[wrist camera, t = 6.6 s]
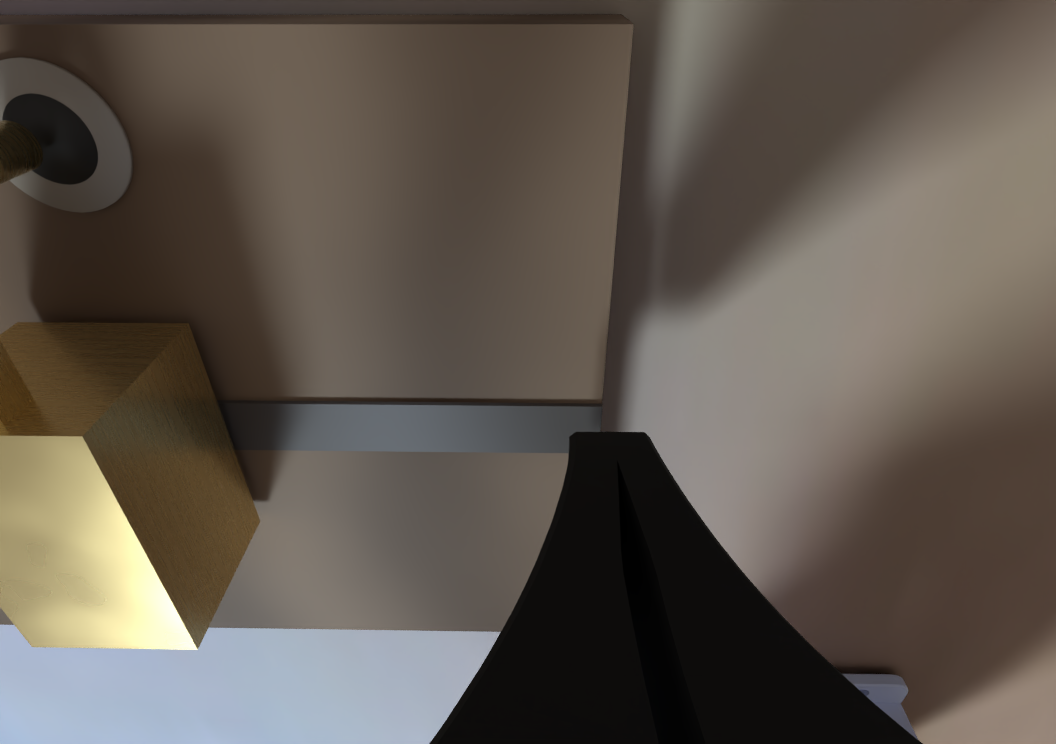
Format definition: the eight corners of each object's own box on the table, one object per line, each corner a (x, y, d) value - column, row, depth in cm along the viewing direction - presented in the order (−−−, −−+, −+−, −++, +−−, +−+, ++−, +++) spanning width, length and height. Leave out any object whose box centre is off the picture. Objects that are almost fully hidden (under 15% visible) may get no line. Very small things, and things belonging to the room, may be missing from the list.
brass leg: (114, 119, 9) (-54, 185, 6) (260, 520, 13) (197, 649, 11) (-93, 118, 9) (-341, 185, 6) (125, 519, 14) (31, 647, 11)
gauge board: (621, 14, 9) (672, 56, 6) (579, 584, 17) (590, 755, 14) (-516, 15, 10) (-1166, 56, 6) (-47, 576, 18) (-202, 742, 14)
